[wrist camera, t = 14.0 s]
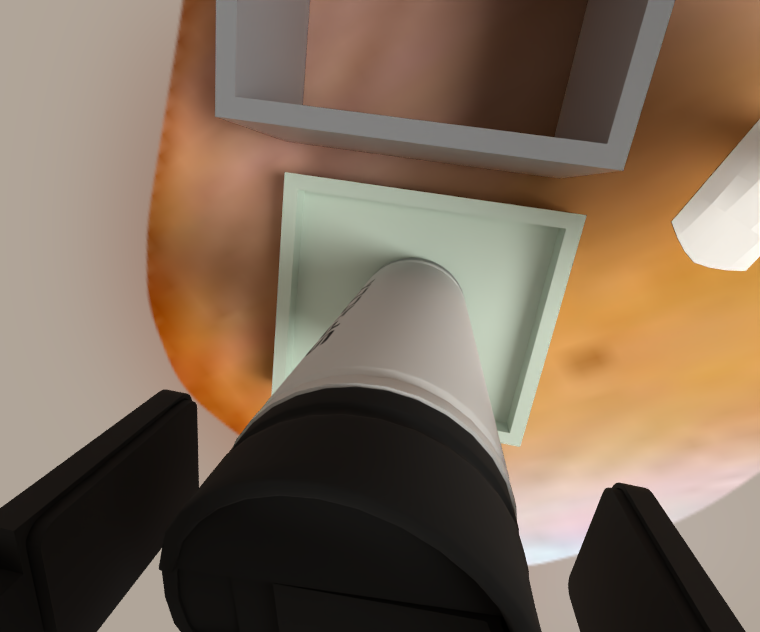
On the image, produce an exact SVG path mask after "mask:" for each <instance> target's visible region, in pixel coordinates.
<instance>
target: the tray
mask: <svg viewBox="0 0 760 632" xmlns="http://www.w3.org/2000/svg"><path fill="white" fill-rule="evenodd" d="M586 216H587V215H581V214H574V213H567V212H560V211H553V210H546V209H539V208H532V207H525V206H518V205H511V204H504V203H497V202H490V201H483V200H476V199H469V198H462V197H456V196H449V195H442V194H435V193H428V192H421V191H414V190H407V189H400V188H393V187H386V186H379V185H372V184H365V183H358V182H351V181H344V180H337V179H330V178H323V177H316V176H309V175H302V174H295V173H288V172H285V175H284V192H283V209H282V226H281V243H280V261H279V278H278V295H277V312H276V329H275V346H274V363H273V380H272V395H273V394H274V393H275V391H276V390H277V389H278V388H279V387H280V385H281V384H282V383H283V382H284V381H285V379H286V378H287V377H288V376H289V375H290V374H291V372H292V371H293V370H294V369H295V368H296V366H297V365H298V364H299V363H300V362H301V360H302V359H303V358H304V357H305V356H306V354H307V353H308V352H309V351H310V350H311V349H312V347H313V346H314V345H315V344H316V343H317V341H318V340H319V339H320V338H321V337H322V335H323V334H324V333H325V332H326V331H327V329H328V328H329V327H330V326H331V325H332V324H333V322H334V321H335V320H336V319H337V318H338V316H339V315H340V314H341V313H342V312H343V310H344V309H345V308H346V307H347V306H348V304H349V303H350V302H351V301H352V300H353V299H354V297H355V296H356V295H357V294H358V293H359V291H360V290H361V289H362V288H363V287H364V285H365V284H366V283H367V282H368V281H369V279H370V278H371V277H372V276H373V275H374V274H375V273H376V272H377V271H378V270H379V269H380V268H382V267H383V266H385V265H386V264H388V263H390V262H392V261H395V260H398V259H402V258H411V257H413V258H423V259H427V260H430V261H433V262H435V263H437V264H439V265H441V266H443V267H444V268H445V269H446V270H448V271H449V272H450V273H451V274H452V275H453V276H454V278H455V279H456V280H457V281H458V283H459V285H460V287H461V289H462V292H463V295H464V299H465V302H466V307H467V310H468V314H469V318H470V322H471V326H472V331H473V335H474V339H475V343H476V347H477V351H478V355H479V359H480V363H481V367H482V371H483V375H484V379H485V383H486V387H487V391H488V395H489V399H490V403H491V407H492V411H493V415H494V419H495V423H496V427H497V431H498V435H499V439H500V443H503V444H508V445H513V446H519V447H520V445H521V442H522V438H523V435H524V431H525V428H526V425H527V421H528V418H529V414H530V411H531V407H532V404H533V400H534V397H535V393H536V390H537V386H538V383H539V379H540V376H541V372H542V369H543V365H544V362H545V358H546V355H547V351H548V348H549V345H550V341H551V338H552V334H553V331H554V327H555V324H556V320H557V317H558V313H559V310H560V306H561V303H562V299H563V296H564V292H565V289H566V285H567V282H568V278H569V275H570V271H571V268H572V265H573V261H574V258H575V254H576V251H577V247H578V244H579V240H580V237H581V233H582V230H583V226H584V223H585V219H586Z"/></svg>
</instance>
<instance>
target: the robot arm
mask: <svg viewBox="0 0 760 632" xmlns="http://www.w3.org/2000/svg"><path fill="white" fill-rule="evenodd" d="M197 430H198V428H197V405H196V403H195V402H193V401H192V399H191V397H190V395H188V394H186V393H181V392H176V391H171V390H162V391H160V392H158V393H157V394H156V395H154V396H153V397H151V398H150V399H149V400H147V401H146V402H145V403H143V404H142V405H141V406H139V407H138V408H136V409H135V410H134V411H132V412H131V413H130V414H128V415H127V416H126V417H124V418H123V419H121V420H120V421H119V422H117V423H116V424H115V425H114V426H112V427H111V428H109V429H108V430H106V431H105V432H104V433H102V434H101V435H100V436H98V437H97V438H96V439H94V440H93V441H91V442H90V443H89V444H87V445H86V446H85V447H83V448H82V449H80V450H79V451H78V452H76V453H75V454H74V455H72V456H71V457H70V458H68V459H67V460H66V461H64V462H63V463H62V464H60V465H59V466H57V467H56V468H55V469H53V470H52V471H50V472H49V473H48V474H46V475H45V476H44V477H42V478H41V479H40V480H38V481H37V482H35V483H34V484H33V485H32V486H30V487H29V488H27V489H26V490H25V491H23V492H22V493H20V494H19V495H18V496H16V497H15V498H14V499H12V500H11V501H9V502H8V503H7V504H5V505H4V506H3V507H1V508H0V632H97V631H98V629H99V628H100V627H101V626H102V624H103V623H104V622H105V620H106V619H107V618H108V616H109V615H110V614H111V613H112V611H113V610H114V609H115V608H116V606H117V605H118V604H119V602H120V601H121V600H122V599H123V597H124V596H125V595H126V593H127V592H128V591H129V589H130V588H131V587H132V585H133V584H134V583H135V582H136V580H137V579H138V578H139V577H140V575H141V574H142V573H143V571H144V570H145V569H146V568H147V566H148V565H149V564H150V562H151V561H152V560H153V558H154V557H155V556H156V555H157V553H158V552H159V551H160V549H161V548H162V546H163V540H164V534H165V530H166V529H167V527H168V526H169V525H170V523H171V522H172V521H173V520H174V518H175V517H176V516H177V514H178V513H179V512H180V510H181V509H182V508H183V507H184V506H185V504H186V503H187V502H188V501H189V500H190V499H191V497H192V496H193V495H194V494H195V492H196V491H197V490H198V489H199V475H198V474H199V473H198V433H197V432H198V431H197ZM568 589H569V596H570V600H571V603H572V606H573V609H574V613H575V616H576V619H577V623H578V626H579V629H580V632H745V630H744V629H743V627H742V626H741V624H740V623H739V621H738V620H737V618H736V617H735V615H734V614H733V612H732V611H731V609H730V608H729V606H728V605H727V603H726V602H725V600H724V599H723V597H722V596H721V594H720V593H719V592H718V590H717V589H716V587H715V585H714V584H713V582H712V581H711V580H710V578H709V577H708V575H707V574H706V572H705V571H704V569H703V568H702V566H701V565H700V563H699V562H698V560H697V559H696V557H695V556H694V554H693V553H692V551H691V550H690V548H689V547H688V545H687V544H686V542H685V541H684V539H683V538H682V537H681V535H680V534H679V532H678V531H677V529H676V528H675V526H674V525H673V523H672V522H671V520H670V519H669V517H668V516H667V514H666V513H665V511H664V510H663V508H662V507H661V505H660V504H659V502H658V501H657V499H656V498H655V496H654V495H653V493H652V492H651V491H650V490H649V489H646V488H643V487H638V486H633V485H628V484H623V483H616V484H615V485H613V487H612V488H606V489H605V490H604V492H603V494H602V496H601V499H600V501H599V504H598V506H597V509H596V511H595V514H594V516H593V519H592V521H591V524H590V526H589V529H588V531H587V534H586V536H585V539H584V541H583V544H582V546H581V549H580V551H579V554H578V556H577V559H576V561H575V564H574V566H573V569H572V572H571V574H570V577H569V583H568Z"/></svg>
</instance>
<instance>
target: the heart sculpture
mask: <svg viewBox="0 0 760 632" xmlns="http://www.w3.org/2000/svg"><path fill="white" fill-rule="evenodd" d="M672 224H673V227H674V230H675V232H676V235H677V238H678V240H679V242H680V243H681V245H682V247H683V249H684V251H685V252H686V253H687V255H688V256H689V257H690V258H691V259H692V261H693V262H694V263H697V264H700V265H703V266H706V267H709V268H716V269H723V270H735V271H746V270H747V269H748V268H749V267H750V266H751V265H752V264H753V263H754V262H755V261H756V260H757V259H758V258H759V256H760V119H759V120H758V122H757V123H756V124H755V125H754V126H753V127H752V129H751V130H750V131H749V132H748V133H747V134H746V136H745V137H744V138H743V139H742V140H741V141H740V143H739V144H738V145H737V146H736V147H735V148H734V150H733V151H732V152H731V153H730V154H729V155H728V157H727V158H726V159H725V160H724V161H723V162H722V164H721V165H720V166H719V167H718V168H717V169H716V171H715V172H714V173H713V174H712V175H711V176H710V178H709V179H708V180H707V181H706V182H705V183H704V185H703V186H702V187H701V188H700V189H699V190H698V192H697V193H696V194H695V195H694V196H693V197H692V199H691V200H690V201H689V202H688V203H687V204H686V206H685V207H684V208H683V209H682V210H681V211H680V213H679V214H678V215H677V216H676V217H675V218H674V220H673V221H672Z"/></svg>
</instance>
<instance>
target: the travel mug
mask: <svg viewBox="0 0 760 632" xmlns="http://www.w3.org/2000/svg"><path fill="white" fill-rule="evenodd" d="M159 570H162V575H163V584H164V591H165V598H166V601H167V603H168V606H169V609H170V612H171V615H172V618H173V621H174V624H175V625H176V626H177V627H178V629H179V630H180V631H181V632H542V631H541V628H540V624H539V620H538V616H537V612H536V608H535V604H534V600H533V595H532V591H531V586H530V582H529V571H528V566H527V562H526V557H525V553H524V550H523V546H522V543H521V540H520V536H519V528H518V524H517V514H516V503H515V499H514V495H513V492H512V488H511V485H510V481H509V475H508V471H507V467H506V463H505V459H504V455H503V451H502V447H501V443H500V439H499V435H498V431H497V427H496V423H495V419H494V415H493V411H492V407H491V403H490V399H489V395H488V391H487V387H486V383H485V379H484V375H483V371H482V367H481V363H480V359H479V355H478V351H477V347H476V343H475V339H474V335H473V331H472V326H471V322H470V318H469V314H468V310H467V307H466V302H465V299H464V295H463V292H462V289H461V287H460V285H459V283H458V281H457V280H456V279H455V278H454V276H453V275H452V274H451V273H450V272H449V271H448V270H446V269H445V268H444V267H443V266H441V265H439V264H437V263H435V262H433V261H430V260H427V259H423V258H413V257H411V258H402V259H398V260H395V261H392V262H390V263H388V264H386V265H385V266H383V267H382V268H380V269H379V270H378V271H377V272H376V273H375V274H374V275H373V276H372V277H371V278H370V279H369V281H368V282H367V283H366V284H365V285H364V287H363V288H362V289H361V290H360V291H359V293H358V294H357V295H356V296H355V297H354V299H353V300H352V301H351V302H350V303H349V304H348V306H347V307H346V308H345V309H344V310H343V312H342V313H341V314H340V315H339V316H338V318H337V319H336V320H335V321H334V322H333V324H332V325H331V326H330V327H329V328H328V329H327V331H326V332H325V333H324V334H323V335H322V337H321V338H320V339H319V340H318V341H317V343H316V344H315V345H314V346H313V347H312V349H311V350H310V351H309V352H308V353H307V354H306V356H305V357H304V358H303V359H302V360H301V362H300V363H299V364H298V365H297V366H296V368H295V369H294V370H293V371H292V372H291V374H290V375H289V376H288V377H287V378H286V379H285V381H284V382H283V383H282V384H281V385H280V387H279V388H278V389H277V390H276V391H275V393H274V394H273V395H272V396H271V397H270V398H269V400H268V401H267V402H266V404H265V405H264V406H263V407H262V409H261V410H260V411H259V412H258V413H257V414H256V415H255V416H254V418H253V419H252V420H251V421H250V422H249V424H248V425H247V426H246V428H245V429H244V430H243V432H242V433H241V434H240V435H239V437H238V438H237V439H236V441H235V444H234V446H233V448H232V449H231V450H230V452H229V453H228V454H227V455H226V456H225V457H224V458H223V459H222V461H221V462H220V463H219V464H218V466H217V467H216V468H215V470H213V472H212V473H211V474H210V475H209V477H208V478H207V479H206V480H205V481H204V483H203V484H202V485H201V486H200V488H199V489H198V490H197V491H196V492H195V494H194V495H193V496H192V497H191V499H190V500H189V501H188V502H187V503H186V504H185V506H184V507H183V508H182V509H181V510H180V512H179V513H178V514H177V516H176V517H175V518H174V520H173V521H172V522H171V523H170V525H169V526H168V527H167V529H166V530H165V534H164V540H163V546H162V552H161V559H160V564H159Z"/></svg>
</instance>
